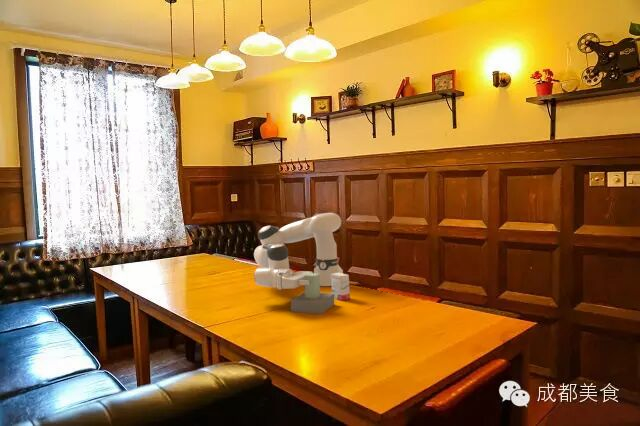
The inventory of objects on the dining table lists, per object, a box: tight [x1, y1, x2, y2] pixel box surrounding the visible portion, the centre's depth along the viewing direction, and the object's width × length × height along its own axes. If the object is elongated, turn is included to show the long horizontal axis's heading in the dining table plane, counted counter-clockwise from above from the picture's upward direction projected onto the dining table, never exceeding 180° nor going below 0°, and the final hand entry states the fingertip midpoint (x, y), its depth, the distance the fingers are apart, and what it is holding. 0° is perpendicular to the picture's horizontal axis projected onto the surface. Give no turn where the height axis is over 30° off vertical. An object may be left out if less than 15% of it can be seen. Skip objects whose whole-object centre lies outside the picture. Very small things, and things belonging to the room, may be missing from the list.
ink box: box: [331, 272, 351, 301], centre depth 212 cm, size 9×5×12 cm, turn 33°
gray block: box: [290, 291, 335, 315], centre depth 197 cm, size 16×14×5 cm
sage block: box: [304, 272, 321, 299], centre depth 197 cm, size 5×5×10 cm
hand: (314, 280), depth 196 cm, fingers open, 8 cm apart
